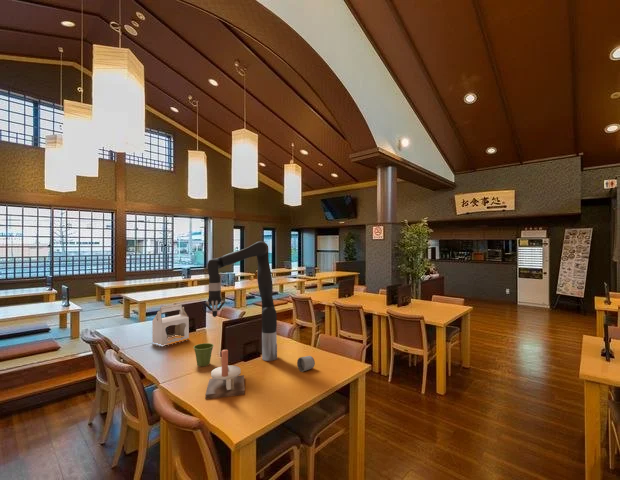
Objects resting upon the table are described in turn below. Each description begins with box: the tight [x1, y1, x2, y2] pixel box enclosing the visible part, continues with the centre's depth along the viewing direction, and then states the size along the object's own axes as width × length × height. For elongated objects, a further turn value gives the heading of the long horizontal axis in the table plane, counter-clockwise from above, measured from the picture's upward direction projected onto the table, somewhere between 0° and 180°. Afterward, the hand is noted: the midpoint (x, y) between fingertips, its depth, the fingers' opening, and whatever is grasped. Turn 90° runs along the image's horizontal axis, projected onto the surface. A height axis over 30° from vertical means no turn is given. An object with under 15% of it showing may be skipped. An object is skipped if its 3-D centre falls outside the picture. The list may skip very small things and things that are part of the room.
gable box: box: [151, 303, 190, 345], centre depth 233 cm, size 22×13×28 cm, turn 145°
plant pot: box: [192, 342, 215, 367], centre depth 187 cm, size 12×12×11 cm
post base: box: [204, 374, 245, 400], centre depth 155 cm, size 18×18×8 cm
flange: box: [210, 349, 242, 390], centre depth 155 cm, size 15×14×17 cm
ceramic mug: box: [296, 355, 316, 372], centre depth 179 cm, size 11×8×8 cm
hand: (214, 316), depth 196 cm, fingers closed
